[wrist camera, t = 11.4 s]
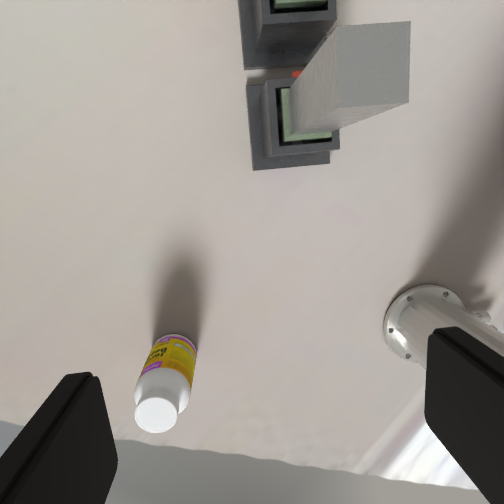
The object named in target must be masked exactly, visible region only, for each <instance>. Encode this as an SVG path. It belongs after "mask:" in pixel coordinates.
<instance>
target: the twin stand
mask: <svg viewBox="0 0 504 504" xmlns="http://www.w3.org/2000/svg"><path fill="white" fill-rule="evenodd" d="M238 6H239V18H240V29H241V40H242V52H243V63H244V70H254V69H267V68H280V67H293V66H305V65H308V63H309V62H310V61H311V59H312V58H313V57H314V55H315V54H316V53H317V52H318V50H319V49H320V48H321V46H322V45H323V44H324V42H325V41H326V33H327V32H328V30H329V29H330V28H331V26H332V25H333V23H334V22H335V21H336V19H337V17H336V0H238Z"/></svg>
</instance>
